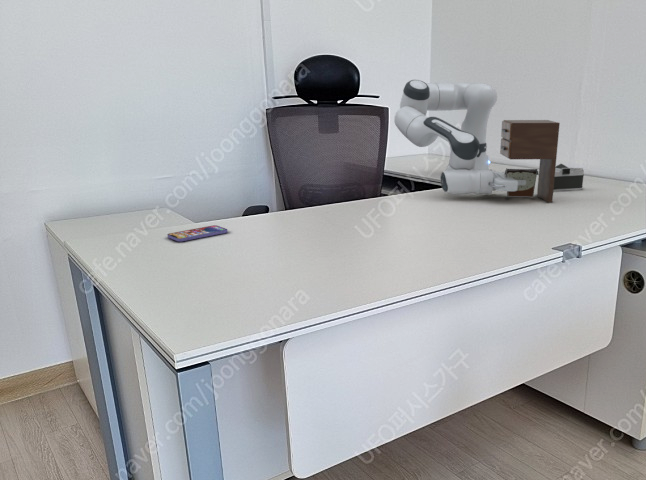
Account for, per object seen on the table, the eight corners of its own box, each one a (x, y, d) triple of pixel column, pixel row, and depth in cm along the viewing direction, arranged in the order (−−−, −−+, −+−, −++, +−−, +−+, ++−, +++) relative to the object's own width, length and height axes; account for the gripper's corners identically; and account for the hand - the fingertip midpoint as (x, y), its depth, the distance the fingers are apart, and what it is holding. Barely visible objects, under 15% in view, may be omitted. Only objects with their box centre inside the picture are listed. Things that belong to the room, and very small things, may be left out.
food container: (532, 197, 220) (533, 169, 218) (537, 197, 214) (538, 169, 212) (499, 196, 219) (500, 168, 217) (503, 196, 213) (505, 168, 211)
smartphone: (229, 232, 167) (179, 242, 157) (215, 227, 172) (166, 237, 162) (229, 229, 167) (178, 239, 156) (215, 224, 171) (165, 233, 161)
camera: (573, 186, 240) (575, 160, 237) (585, 189, 233) (588, 163, 229) (538, 188, 236) (540, 162, 232) (550, 191, 228) (552, 165, 225)
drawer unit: (495, 195, 221) (499, 120, 211) (541, 195, 221) (547, 120, 212) (503, 203, 207) (508, 122, 198) (552, 202, 208) (559, 122, 199)
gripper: (492, 177, 202) (532, 177, 202) (482, 168, 221) (518, 168, 221) (491, 195, 204) (531, 195, 204) (481, 185, 223) (517, 185, 224)
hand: (524, 181), depth 213 cm, fingers closed
